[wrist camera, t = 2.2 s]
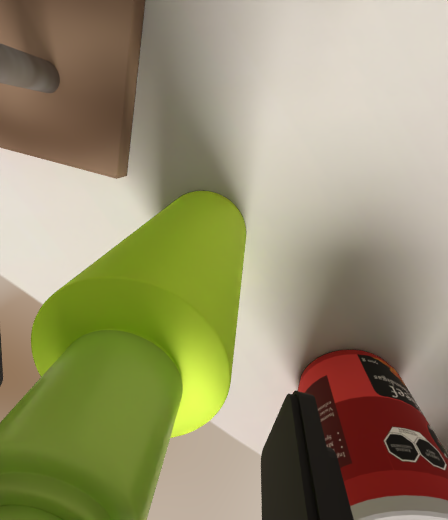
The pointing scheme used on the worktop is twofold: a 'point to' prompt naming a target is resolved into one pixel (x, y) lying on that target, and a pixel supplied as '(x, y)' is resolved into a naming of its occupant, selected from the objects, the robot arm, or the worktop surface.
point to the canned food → (378, 438)
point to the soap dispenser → (126, 367)
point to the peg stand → (70, 80)
